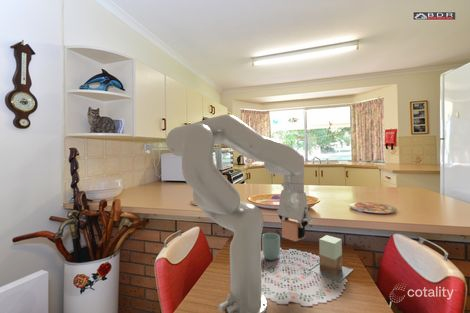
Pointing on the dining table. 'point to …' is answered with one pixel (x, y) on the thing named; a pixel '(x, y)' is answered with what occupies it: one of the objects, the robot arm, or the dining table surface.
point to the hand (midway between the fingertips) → (293, 234)
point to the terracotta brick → (290, 229)
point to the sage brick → (330, 247)
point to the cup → (271, 245)
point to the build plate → (338, 277)
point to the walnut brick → (331, 265)
